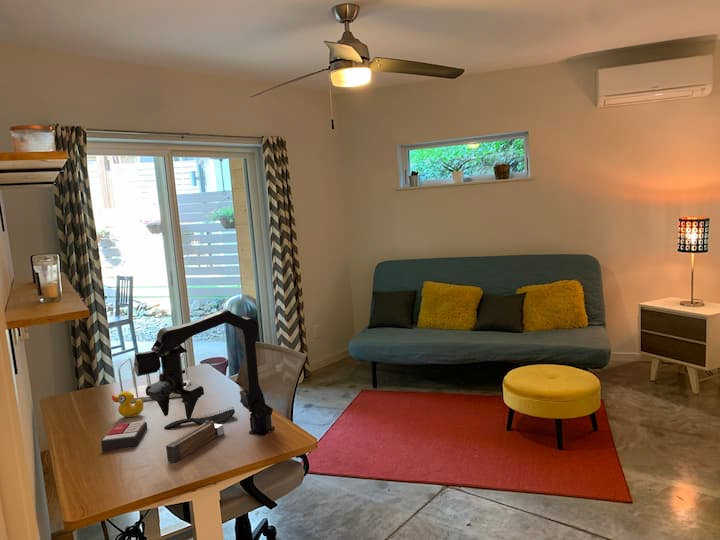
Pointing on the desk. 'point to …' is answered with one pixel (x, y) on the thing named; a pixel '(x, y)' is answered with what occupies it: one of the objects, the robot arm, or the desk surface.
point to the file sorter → (140, 391)
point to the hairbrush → (205, 419)
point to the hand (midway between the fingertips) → (177, 417)
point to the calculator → (124, 436)
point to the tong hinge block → (219, 429)
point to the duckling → (128, 404)
